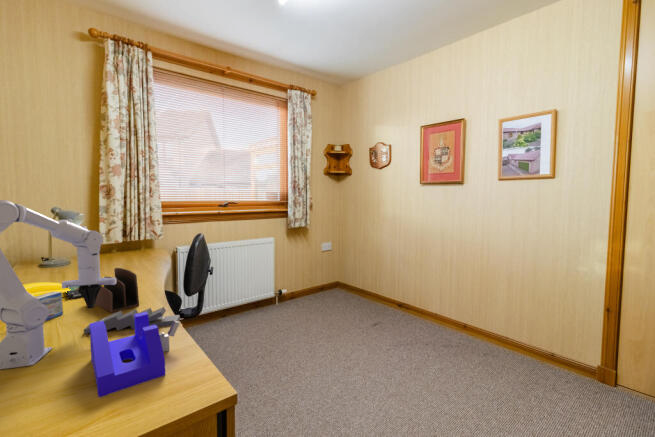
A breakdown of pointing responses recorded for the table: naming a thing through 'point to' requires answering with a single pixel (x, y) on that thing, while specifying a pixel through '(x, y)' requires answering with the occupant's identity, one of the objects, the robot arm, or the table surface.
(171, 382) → the table surface
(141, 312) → the domino
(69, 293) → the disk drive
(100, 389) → the bracket
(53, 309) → the medicine box
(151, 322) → the end domino
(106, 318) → the domino
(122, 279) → the letter holder
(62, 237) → the robot arm
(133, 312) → the domino
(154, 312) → the domino
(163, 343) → the lighter
